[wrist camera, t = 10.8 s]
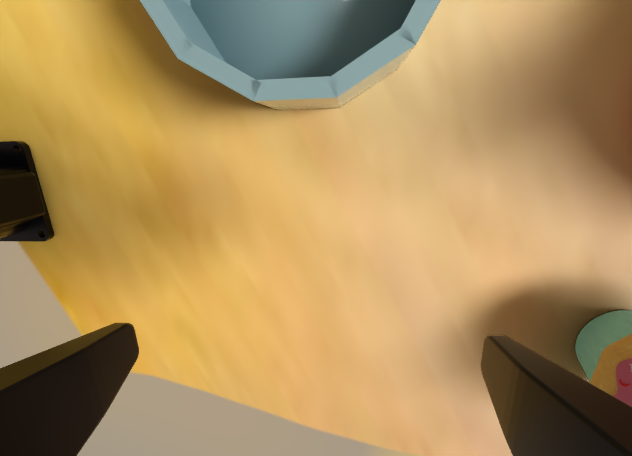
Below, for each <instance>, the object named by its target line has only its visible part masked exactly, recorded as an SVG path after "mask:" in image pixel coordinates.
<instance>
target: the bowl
mask: <svg viewBox="0 0 632 456" xmlns="http://www.w3.org/2000/svg"><path fill="white" fill-rule="evenodd" d="M440 1H441V0H140V2H141V3H142V5H143V6H144V8H145V9H146V11H147V12H148V14H149V15H150V17H151V19H152V20H153V22H154V23H155V25H156V26H157V28H158V29H159V31H160V32H161V34H162V35H163V37H164V38H165V40H166V41H167V43H168V45H169V46H170V48H171V49H172V51H173V52H174V54H175V55H176V57H177V58H178V59H179V60H181V61H183V62H184V63H186V64H188V65H190V66H192V67H193V68H195V69H197V70H199V71H200V72H202V73H204V74H206V75H207V76H209V77H211V78H213V79H215V80H216V81H218V82H220V83H222V84H223V85H225V86H227V87H229V88H231V89H232V90H234V91H236V92H238V93H239V94H241V95H243V96H245V97H247V98H248V99H250V100H252V101H254V102H257V103H260V104H262V105H265V106H268V107H271V108H274V109H277V110H289V109H314V108H339V107H341V106H343V105H344V104H346V103H347V102H349V101H350V100H352V99H353V98H355V97H356V96H358V95H359V94H361V93H362V92H364V91H366V90H367V89H369V88H370V87H372V86H373V85H375V84H376V83H378V82H379V81H381V80H382V79H384V78H385V77H387V76H388V75H390V74H391V73H393V72H394V71H396V70H397V69H398V67H399V66H400V65H401V64H402V62H403V61H404V60H405V58H406V57H407V56H408V54H409V53H410V52H411V50H412V49H413V48H414V47H415V45H416V43H417V42H418V40H419V38H420V36H421V35H422V33H423V31H424V29H425V27H426V26H427V24H428V22H429V20H430V19H431V17H432V15H433V13H434V11H435V10H436V8H437V6H438V4H439V3H440Z"/></svg>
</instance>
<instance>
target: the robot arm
mask: <svg viewBox="0 0 632 456" xmlns="http://www.w3.org/2000/svg"><path fill="white" fill-rule="evenodd" d="M19 148H20V150H21V152H20V150H19ZM44 233H45V234H44ZM53 236H54V232H53V228H52V225H51V221H50V218H49V214H48V210H47V207H46V203H45V200H44V196H43V193H42V189H41V186H40V182H39V179H38V175H37V172H36V168H35V164H34V161H33V157H32V154H31V150H30V148H29V146H28V145H27V144H26V143H25V142H22V141H11V142H0V241H47V240H49V239H52V238H53ZM138 354H139V347H138V343H137V338H136V334H135V329H134V327H133V325H132V324H130V323H114V324H111V325H109V326H106V327H104V328H101V329H99V330H96V331H94V332H91V333H89V334H86V335H83V336H81V337H79V338H76V339H74V340H71V341H68V342H66V343H63V344H61V345H58V346H56V347H53V348H51V349H48V350H46V351H43V352H41V353H38V354H36V355H33V356H31V357H28V358H26V359H23V360H21V361H18V362H15V363H13V364H11V365H8V366H6V367H3V368H0V456H77V454H78V453H79V452H80V450H81V449H82V447H83V446H84V444H85V443H86V441H87V440H88V438H89V437H90V436H91V434H92V433H93V431H94V430H95V428H96V427H97V426H98V424H99V423H100V421H101V420H102V418H103V417H104V415H105V413H106V412H107V410H108V408H109V407H110V405H111V403H112V402H113V400H114V398H115V396H116V395H117V393H118V391H119V390H120V388H121V386H122V384H123V382H124V381H125V379H126V377H127V376H128V374H129V372H130V370H131V369H132V367H133V365H134V364H135V362H136V360H137V358H138ZM481 371H482V375H483V378H484V380H485V383H486V386H487V389H488V392H489V394H490V397H491V400H492V403H493V406H494V409H495V411H496V414H497V417H498V420H499V423H500V425H501V428H502V431H503V433H504V436H505V439H506V441H507V443H508V446H509V448H510V450H511V452H512V455H513V456H632V407H631V406H629V405H628V404H626V403H624V402H622V401H621V400H619V399H617V398H615V397H613V396H612V395H610V394H608V393H606V392H605V391H603V390H601V389H599V388H598V387H596V386H594V385H592V384H591V383H589V382H587V381H585V380H583V379H582V378H580V377H578V376H576V375H575V374H573V373H571V372H569V371H568V370H566V369H564V368H562V367H560V366H559V365H557V364H555V363H553V362H552V361H550V360H548V359H546V358H545V357H543V356H541V355H539V354H537V353H536V352H534V351H532V350H530V349H529V348H527V347H525V346H523V345H522V344H520V343H518V342H516V341H515V340H513V339H511V338H509V337H507V336H505V335H487V336H486V337H485V340H484V346H483V353H482V360H481Z"/></svg>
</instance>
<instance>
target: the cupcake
mask: <svg viewBox="0 0 632 456" xmlns="http://www.w3.org/2000/svg"><path fill="white" fill-rule="evenodd" d="M575 351H576V355H577V358H578V360H579V362H580V364H581V366H582V368H583V370H584V372H585V374H586V376H587V378H588V380H589V382H590V383H591V384H592V385H594V386H596V387H598V388H599V389H601V390H603V391H605V392H606V393H608V394H610V395H612V396H613V397H615V398H617V399H619V400H621V401H622V402H624V403H626V404H628V405H629V406H631V407H632V311H631V310H618V311H612V312H608V313H605V314H602V315H600V316H598V317H596V318H594V319H593V320H591V321H590V322H589V323H588V324H587V325H586V326H585V327H584V328H583V329H582V330H581V332H580V333H579V335H578V337H577V340H576V344H575Z"/></svg>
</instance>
